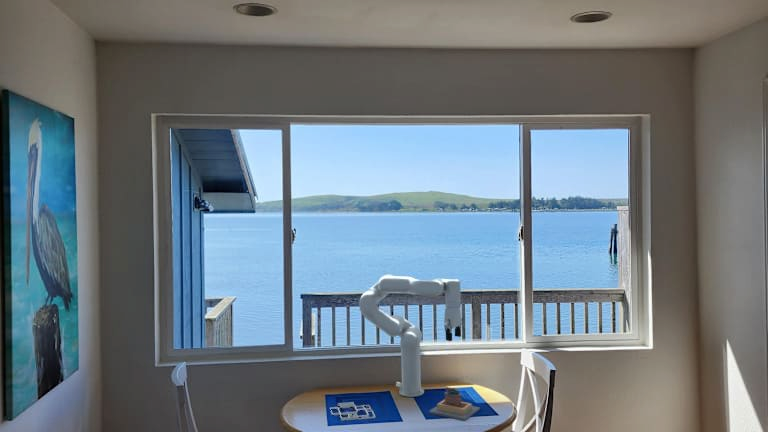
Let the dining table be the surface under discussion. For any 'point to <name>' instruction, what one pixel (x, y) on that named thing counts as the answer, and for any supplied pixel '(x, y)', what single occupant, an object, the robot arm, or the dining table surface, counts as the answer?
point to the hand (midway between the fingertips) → (453, 338)
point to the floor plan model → (350, 417)
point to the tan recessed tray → (455, 410)
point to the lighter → (452, 397)
